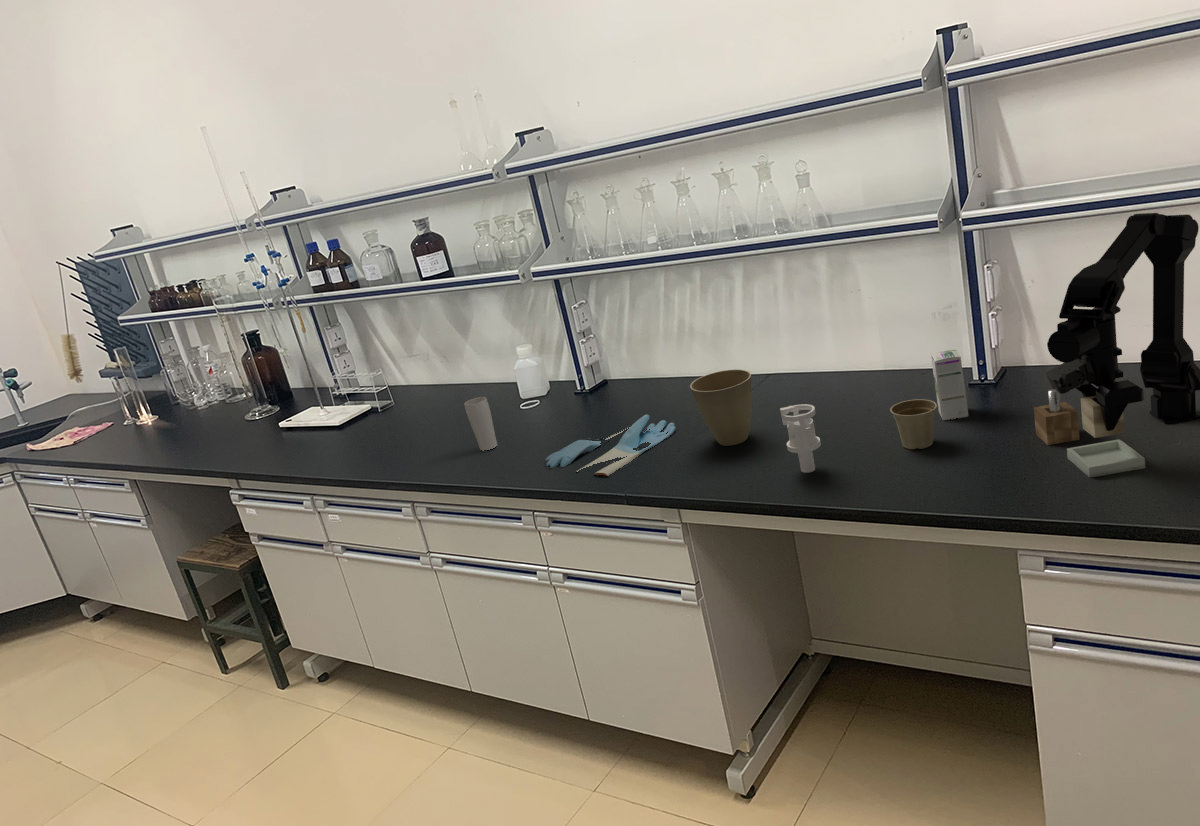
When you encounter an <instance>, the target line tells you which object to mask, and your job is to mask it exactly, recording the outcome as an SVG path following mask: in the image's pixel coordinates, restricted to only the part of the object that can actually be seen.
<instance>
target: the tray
mask: <svg viewBox="0 0 1200 826" xmlns="http://www.w3.org/2000/svg"><path fill="white" fill-rule="evenodd" d="M1066 453H1067V454H1066V455H1067V456H1066V457H1067V459H1068V460H1069V461H1070V462H1071V463H1073V464H1074V465H1075V467H1077V468H1078V469H1079V470H1080V471H1082V473H1083V474H1085V475H1086V476H1087V477H1088V478H1096V477H1101V476H1102V477H1103V476H1107V475H1113V474H1119V473H1124V472H1125V473H1126V472H1130V471H1131V472H1132V471H1136V470H1142V469H1146V459H1145V458H1146V457H1144V456H1143V455H1141V454H1140V453H1139V452H1138V451H1136V450H1135V449H1133V448H1132V447H1131V446H1130V445H1128V444H1127V443H1125V442H1124V441H1122V439H1114V440H1107V441H1102V442H1096V443H1091V444H1085V445H1080V446H1073V447H1069V448H1066Z"/></svg>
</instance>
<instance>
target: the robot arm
mask: <svg viewBox="0 0 1200 826" xmlns="http://www.w3.org/2000/svg"><path fill="white" fill-rule="evenodd" d="M1199 229H1200V228H1199V223H1198V221H1197V220H1196V219H1193V217H1192V215H1191V214H1171V215H1169V214H1168V215H1167V214H1164V213H1161V214H1160V213H1158V212H1145V213H1143V212H1142V213H1134V214H1133V215H1130V216H1129V217H1128V218H1127V220H1126V223H1125V227H1123V229H1122V231H1121V232H1120V233H1119V234H1118V235H1117V237H1116V238H1115V240H1114V241H1113V242H1112V243H1111V244H1110V245H1109V246H1108V248H1107V249H1106V251H1105V252H1104V253H1103V254H1102V256H1101V257H1100V259H1099V260H1098V261H1096V262H1094V263H1092V264H1090V265H1088V266H1086V267H1084V268H1082V269H1081V270H1080V271H1079V272H1078V273H1077V274H1076V275H1074V277H1072V279H1071V281H1070V282H1069V283H1068V287H1067V289H1066V292H1065V295H1064V298H1063V302H1062V306H1061V309H1060V312H1059V316H1058V318H1059V319H1062V320H1063V319H1064V320H1065V319H1066V320H1065V321H1061V322H1058V323H1057V325H1056V331H1054V332H1053V333H1052V334H1051V335H1050V336H1049V338H1048V341H1047V343H1046V345H1047V350H1048V353H1049V354H1050V355H1051V357H1052V358H1053V359H1055V360H1056V361H1058V362H1060V363H1061V364H1059V365H1057V366H1055V367H1053V368H1051V369H1050V370H1048V371H1046V372H1045V376H1046V378H1047V380H1048V382H1049V384H1050V385H1051V388H1052V389H1055V390H1057V391H1058V392H1059V393H1060V395H1065V394H1066V393H1068V392H1070V391H1072V390H1073V391H1074V390H1077V391H1078V392H1080V393H1081V394H1082V398H1085V397H1090V396H1096V397H1097V398H1092V400H1093V401H1094V402H1096V403H1097V404H1099V405H1100V406H1101V411H1102V415H1103V419H1104V424H1105V427H1106V430H1107V431H1112V430H1114V428H1115V426H1116V424H1117V423H1118V421H1119V419H1120V417H1121V415H1122V413H1123V414H1124V411H1125V410H1126V408H1127V407H1128V405H1129V404H1134V403H1139V402H1143V400H1145V398H1144V397H1145V396H1144V389H1143V388H1142V387H1141V386H1139V385H1137V384H1136V383H1134V382H1133V381H1130V380H1129V379H1125V380H1118V381H1116V379H1120V378H1124V371H1122V370H1121V369H1120V368H1119V359H1118V356H1122V355H1123V350H1122V348H1121V347H1119V346H1118V341H1117V329H1116V327H1117V326H1116V315H1117V314H1118V313H1121V308H1120V307H1119V306H1118V303H1119V301H1120V300H1121V298H1122V295H1123V293H1124V292H1125V289H1126V287H1125V282H1124V279H1125V277H1126V276H1127V274H1128V273H1129V271H1130V270H1131V269H1132V267H1133V266H1134V265H1135V264H1136V262H1138V259H1139V258H1140V257H1141V255H1142V254H1143V253H1144V254H1145V256H1146V257H1147V259H1148V260H1149V261H1150V262H1151V264H1152V267H1153V268H1152V340H1151V342H1150V343H1149V345H1148V346H1147V347H1146V349H1142V351H1141V353H1140V366H1139V367H1140V368H1139V371H1140V376H1141V378H1142V383H1143V386H1144V388H1145V389H1152V394H1151V396H1150V411H1149V415H1151V416H1153V418H1155V419H1157V420H1159V421H1161V422H1162V423H1164V424H1166V425H1167V424H1173V423H1178V422H1179V423H1180V422H1185V421H1189V420H1195V419H1200V413H1198V412H1197V409H1196V408H1197V405H1196V404H1197V403H1196V402H1197V401H1196V398H1197V397H1196V391H1200V367H1199V366H1198V365H1197V364H1196V362H1195V360H1194V351H1193V349H1192V347H1191V346H1190V345H1189V344H1188V342H1187V341H1186V339H1185V338H1184V307H1185V306H1184V302H1185V301H1184V300H1185V299H1184V297H1185V296H1184V295H1185V293H1184V292H1185V262H1186V260H1187V259H1188V257H1189V255H1190V254H1191V253H1192V252H1193V250H1194V249H1195V246H1196V241H1197V239H1196V238H1197V236H1198V233H1199ZM1075 307H1077V308H1075Z"/></svg>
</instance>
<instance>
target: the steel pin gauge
mask: <svg viewBox="0 0 1200 826" xmlns="http://www.w3.org/2000/svg"><path fill="white" fill-rule="evenodd" d="M1047 394H1048V395H1047V396H1048V405H1049V409H1050V413H1056V412H1061V404H1060V403H1061V394H1060V393H1059V392H1058V391H1057V390H1055V389H1053V388H1051V389H1048V391H1047Z"/></svg>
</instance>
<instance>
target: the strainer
mask: <svg viewBox="0 0 1200 826" xmlns="http://www.w3.org/2000/svg"><path fill="white" fill-rule="evenodd" d="M815 407H816V406H814V405H813V404H806V403H805V404H794V405H788V406H785V407H780V408H779V411H780V415H781V420H782V425H783V426H786V428H787V434H788V439H789V440H788V441H786V447H787V448H786V449H787V451H788V452H790V453H793V454H797V456H798V460H799V461H798V462H799V466H800V471H801V472H802V474H803V473H804V474H807V473H812V472H814V471H816V465H815V459H814V454H813V451H816V450H818V449H819V448H820V447H821V446H822V443H821V439H820V437H819V436H816V430H815V423H814V419H813V417H814V416H815V415H816V409H815ZM800 411H808V412H805V413H799V412H800ZM789 413H793V415H789ZM787 414H788V415H787Z"/></svg>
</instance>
